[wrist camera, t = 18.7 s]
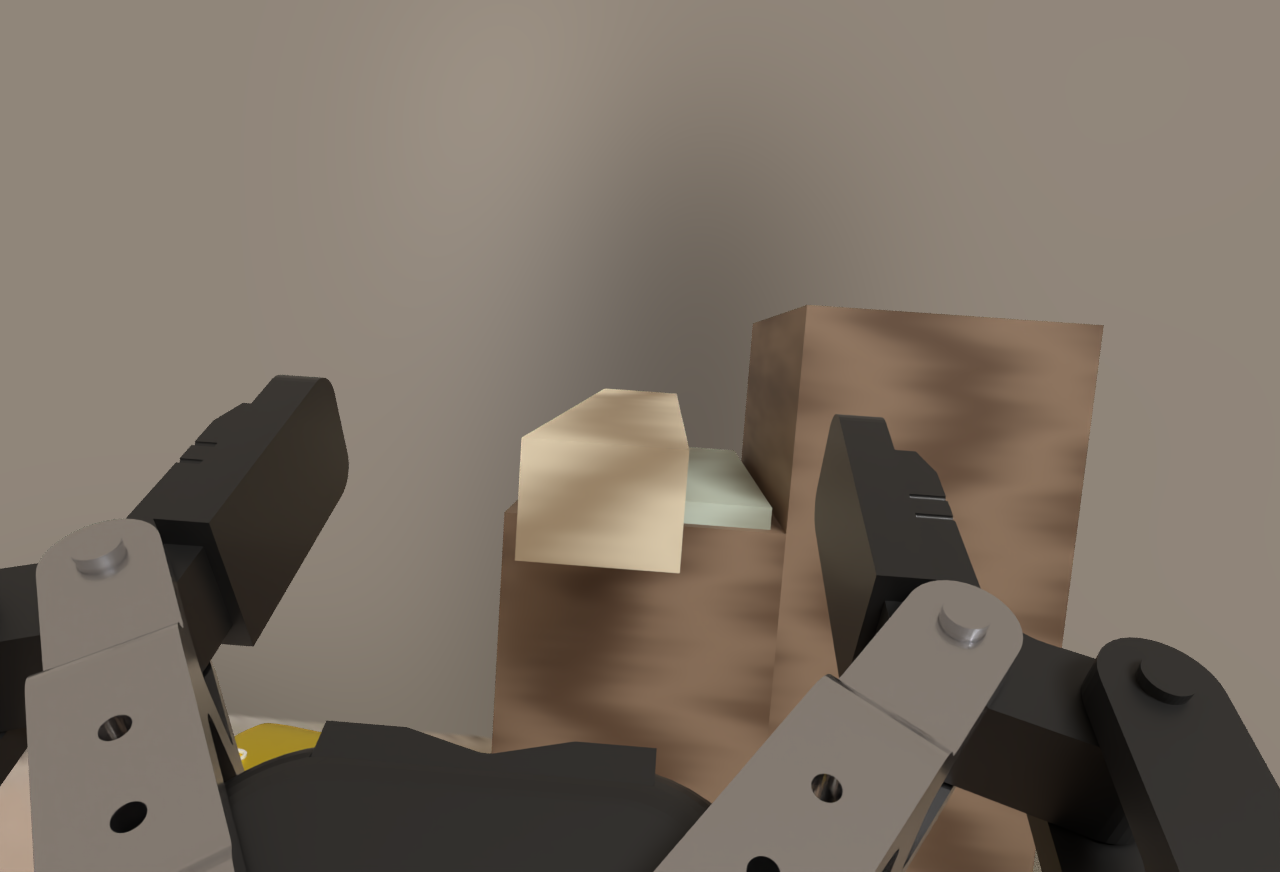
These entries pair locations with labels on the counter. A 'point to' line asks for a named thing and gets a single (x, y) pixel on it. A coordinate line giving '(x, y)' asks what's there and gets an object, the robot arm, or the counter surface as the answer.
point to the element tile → (272, 742)
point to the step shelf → (811, 551)
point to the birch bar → (606, 484)
